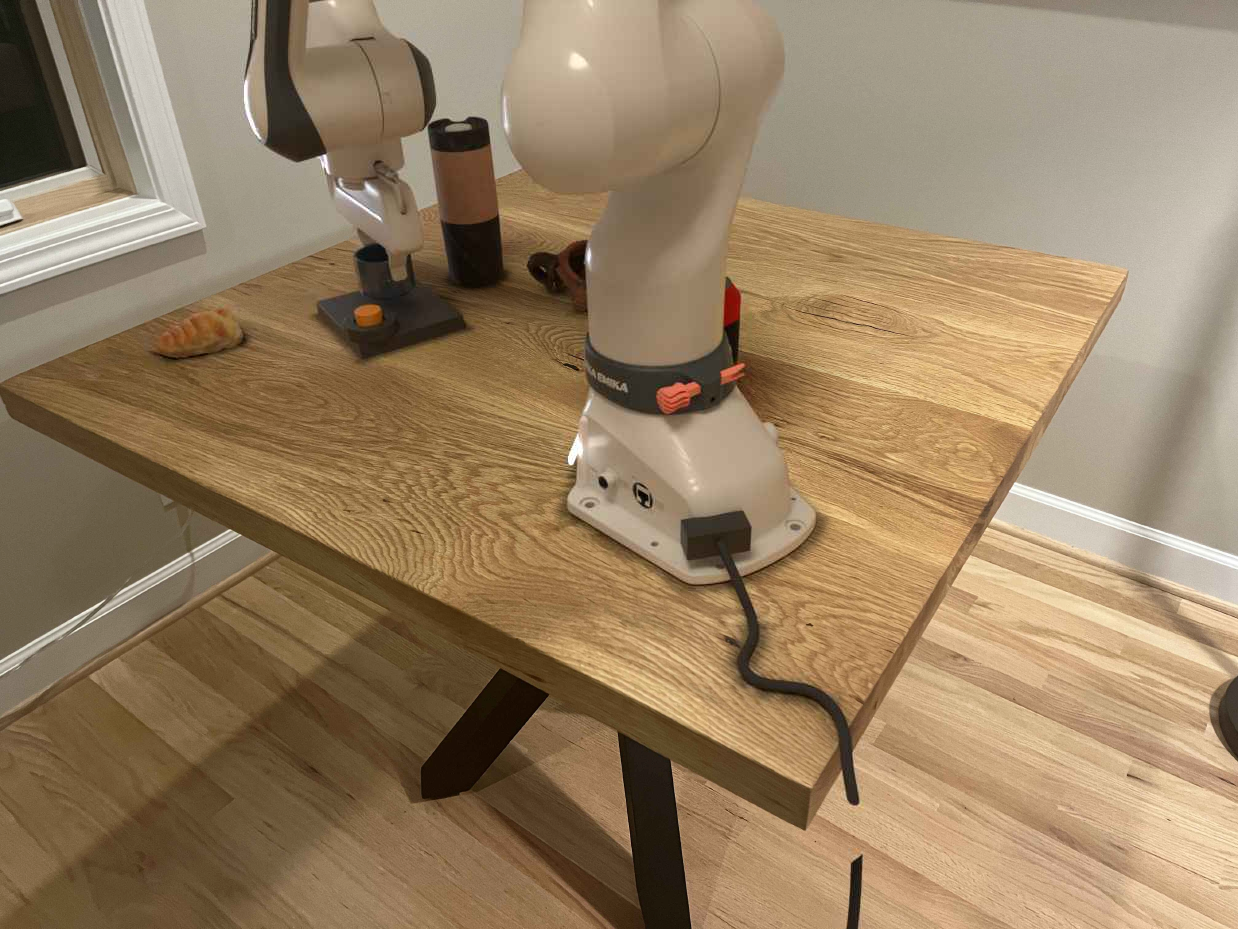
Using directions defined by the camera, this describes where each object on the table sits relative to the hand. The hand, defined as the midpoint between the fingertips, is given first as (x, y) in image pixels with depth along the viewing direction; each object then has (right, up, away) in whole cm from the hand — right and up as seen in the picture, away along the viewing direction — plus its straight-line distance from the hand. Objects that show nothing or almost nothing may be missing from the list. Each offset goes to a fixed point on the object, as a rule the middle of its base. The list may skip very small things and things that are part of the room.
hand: (385, 267), depth 110 cm
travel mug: (+9, +1, +12) cm, 15 cm away
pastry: (-21, -10, -2) cm, 23 cm away
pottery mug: (+23, -3, +5) cm, 24 cm away
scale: (0, -6, +1) cm, 7 cm away
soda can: (+37, -16, -15) cm, 43 cm away
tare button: (0, -8, -6) cm, 10 cm away
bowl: (0, -2, +2) cm, 3 cm away
